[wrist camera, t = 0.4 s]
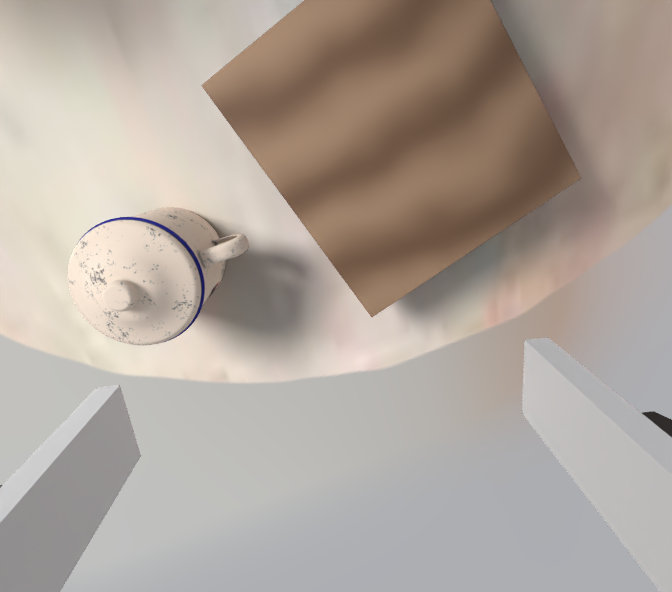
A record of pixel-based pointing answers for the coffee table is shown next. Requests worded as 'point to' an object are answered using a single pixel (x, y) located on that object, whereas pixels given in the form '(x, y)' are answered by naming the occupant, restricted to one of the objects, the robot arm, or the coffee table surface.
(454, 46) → the walnut stand
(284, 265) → the coffee table surface
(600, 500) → the robot arm
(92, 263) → the teacup with lid
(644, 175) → the coffee table surface
